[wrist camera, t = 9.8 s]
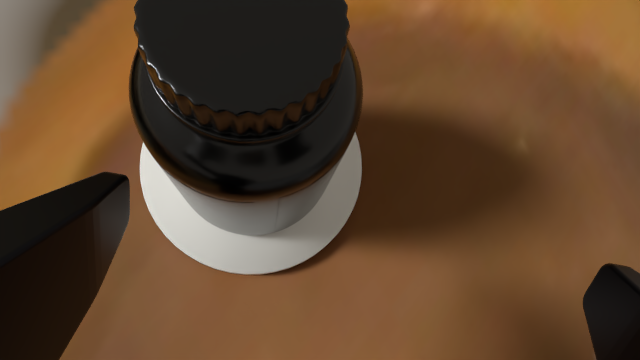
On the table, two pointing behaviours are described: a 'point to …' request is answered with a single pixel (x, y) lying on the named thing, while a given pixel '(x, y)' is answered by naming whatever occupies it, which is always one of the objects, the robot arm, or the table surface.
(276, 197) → the supplement bottle
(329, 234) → the coaster
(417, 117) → the table surface
